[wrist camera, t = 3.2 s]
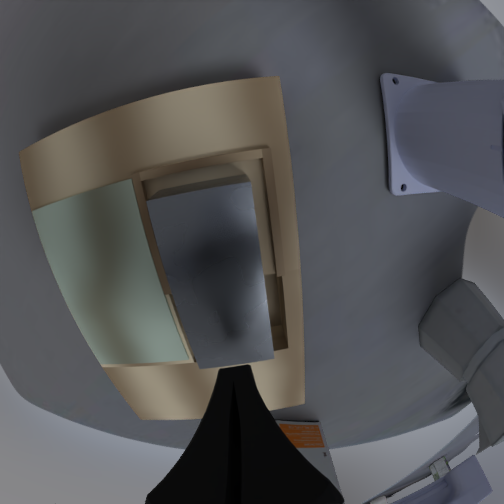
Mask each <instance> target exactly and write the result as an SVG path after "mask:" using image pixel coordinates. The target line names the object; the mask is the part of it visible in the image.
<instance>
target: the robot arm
mask: <svg viewBox="0 0 504 504" xmlns="http://www.w3.org/2000/svg"><path fill="white" fill-rule="evenodd" d="M392 79H394V80H395V82H396V84H394V83H393V81H392ZM380 83H381V89H382V96H383V104H384V112H385V122H386V133H387V146H388V167H389V191H390V192H391V193H392V194H393V195H397V196H399V195H409V194H419V193H430V192H445V193H447V194H450V195H453V196H455V197H458V198H460V199H462V200H465V201H467V202H470V203H472V204H474V205H477V206H479V207H481V208H483V209H486V210H488V211H490V212H492V213H494V214H496V215H498V216H500V217H503V218H504V80H468V81H454V82H443V83H438V82H433V81H429V80H425V79H420V78H415V77H410V76H404V75H398V74H391V73H384V74H382V75H381V77H380ZM402 184H403V189H402V190H401V185H402ZM492 491H493V490H492V488H491V486H490V484H489V482H488V480H487V478H486V476H485V474H484V472H483V470H482V468H481V466H480V464H479V462H478V460H477V458H476V457H475V455H472V456H471V457H470V458H468V459H466V460H465V461H464V462H462V463H461V464H459V465H458V466H456V467H455V468H453V469H452V470H450V471H449V472H448V473H446V474H445V475H444V476H443V477H441V478H440V479H438V480H436V481H435V482H433V483H431V484H429V485H427V486H426V487H424V488H422V489H420V490H418V491H416V492H414V493H412V494H410V495H408V496H406V497H404V498H402V499H400V500H397V501H395V502H393V503H391V504H478V503H480V502H481V501H482V500H483V499H485V498H486V497H487V496H488V495H490V494H491V493H492ZM343 503H344V498H343V496H342V495H341V493H340V492H339V491H338V489H337V488H336V487H335V486H334V485H333V484H332V482H331V481H330V480H329V479H328V478H327V477H326V476H324V475H323V474H322V473H321V472H320V471H319V470H318V469H316V468H315V467H314V466H313V465H312V464H311V463H310V462H309V461H308V460H307V459H306V458H305V457H304V456H303V455H302V454H301V453H300V451H299V450H298V449H297V448H296V447H295V446H294V445H293V444H292V443H291V441H290V440H289V439H288V438H287V436H286V435H285V434H284V432H283V431H282V430H281V428H280V427H279V426H278V424H277V423H276V421H275V420H274V418H273V416H272V415H271V413H270V412H269V410H268V408H267V407H266V405H265V403H264V401H263V399H262V397H261V395H260V393H259V391H258V389H257V386H256V382H255V379H254V375H253V372H252V368H251V365H249V364H246V365H240V366H234V367H227V368H220V369H219V370H218V374H217V379H216V382H215V386H214V389H213V392H212V395H211V398H210V401H209V403H208V406H207V409H206V411H205V413H204V416H203V418H202V420H201V422H200V424H199V427H198V429H197V431H196V433H195V434H194V436H193V438H192V440H191V442H190V443H189V445H188V447H187V448H186V450H185V451H184V453H183V454H182V456H181V457H180V459H179V460H178V461H177V463H176V464H175V465H174V467H173V468H172V469H171V470H170V472H169V473H168V474H167V475H166V477H165V478H164V479H163V480H162V481H161V482H160V483H159V484H158V485H157V486H156V487H155V488H154V489H153V490H152V491H151V492H150V493H149V494H148V495H147V497H146V501H145V504H343Z"/></svg>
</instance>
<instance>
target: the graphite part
mask: <svg viewBox="0 0 504 504" xmlns="http://www.w3.org/2000/svg"><path fill="white" fill-rule="evenodd" d="M146 203H147V207H148V211H149V215H150V219H151V223H152V227H153V231H154V235H155V238H156V242H157V246H158V249H159V253H160V256H161V260H162V263H163V266H164V270H165V273H166V276H167V280H168V283H169V286H170V289H171V292H172V295H173V298H174V301H175V304H176V307H177V310H178V313H179V316H180V319H181V322H182V324H183V327H184V330H185V333H186V335H187V338H188V341H189V343H190V346H191V349H192V351H193V354H194V356H195V359H196V362H197V364H198V367H199V369H207V368H216V367H224V366H232V365H239V364H246V363H252V362H258V361H264V360H270V359H275V358H274V350H273V342H272V335H271V327H270V319H269V311H268V304H267V296H266V289H265V281H264V274H263V266H262V259H261V251H260V244H259V237H258V230H257V222H256V215H255V208H254V201H253V194H252V187H251V181H250V179H249V178H248V176H247V174H243V175H237V176H230V177H224V178H218V179H213V180H207V181H202V182H196V183H191V184H186V185H181V186H176V187H171V188H167V189H162V190H159V191H157V192H156V193H155V194H154V195H153V196H152V197H150V198H149V199H148V200H147V201H146Z"/></svg>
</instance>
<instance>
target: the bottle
mask: <svg viewBox="0 0 504 504" xmlns="http://www.w3.org/2000/svg"><path fill="white" fill-rule="evenodd" d="M370 504H388V503H387V499H386V497H385V496H382V497H379V498H377V499H374V500H372V501H370Z"/></svg>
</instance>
